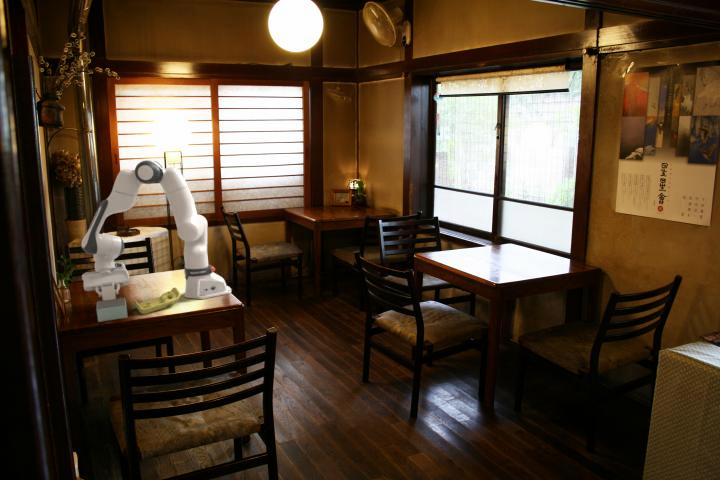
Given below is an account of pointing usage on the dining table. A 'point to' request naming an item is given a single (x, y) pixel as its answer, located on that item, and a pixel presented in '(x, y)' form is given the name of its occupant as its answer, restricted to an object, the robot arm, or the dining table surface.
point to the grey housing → (108, 291)
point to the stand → (111, 309)
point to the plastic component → (157, 302)
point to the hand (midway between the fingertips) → (108, 294)
